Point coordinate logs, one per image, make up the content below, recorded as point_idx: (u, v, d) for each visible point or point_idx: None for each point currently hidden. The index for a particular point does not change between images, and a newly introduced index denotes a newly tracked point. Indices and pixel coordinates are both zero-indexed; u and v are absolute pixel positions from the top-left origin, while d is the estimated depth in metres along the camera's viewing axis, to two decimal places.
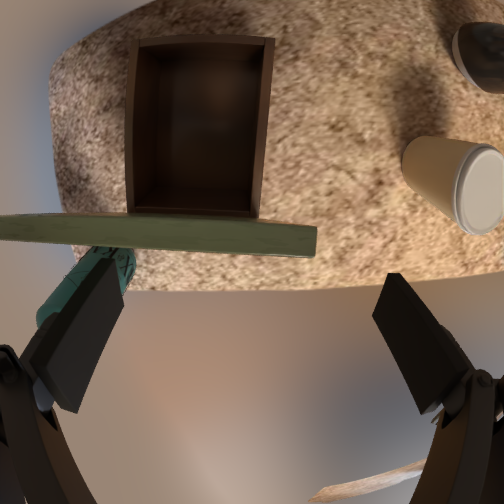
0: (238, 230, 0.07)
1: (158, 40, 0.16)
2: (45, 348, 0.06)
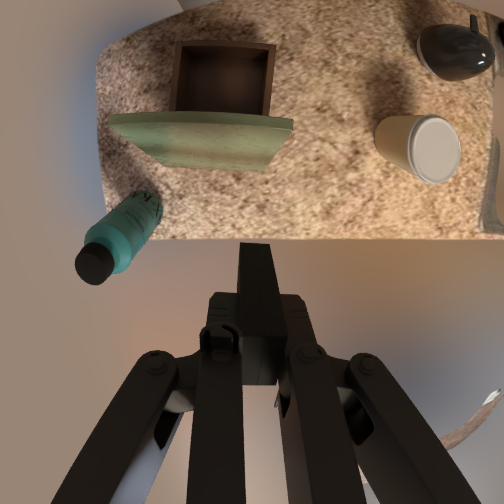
0: (261, 118, 0.15)
1: (196, 42, 0.24)
2: (251, 320, 0.09)
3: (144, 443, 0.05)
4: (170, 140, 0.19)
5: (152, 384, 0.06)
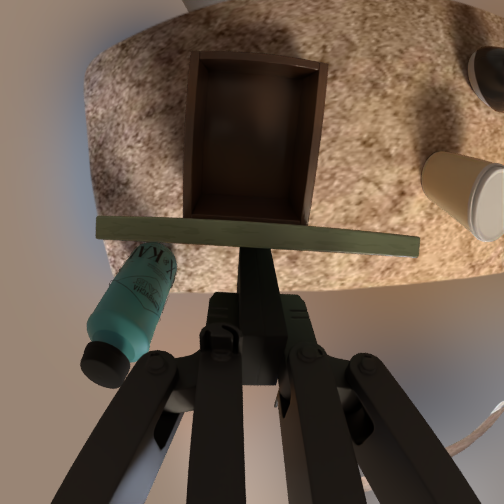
0: (378, 238, 0.09)
1: (219, 54, 0.18)
2: (251, 320, 0.09)
3: (144, 443, 0.05)
4: None
5: (152, 384, 0.06)
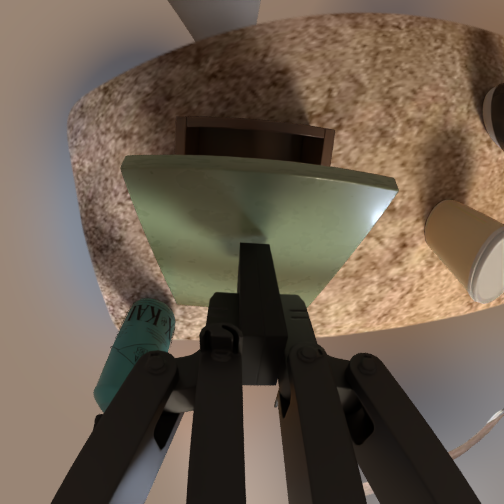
0: (358, 174, 0.11)
1: (209, 121, 0.18)
2: (251, 320, 0.09)
3: (144, 443, 0.05)
4: (206, 230, 0.14)
5: (152, 384, 0.06)
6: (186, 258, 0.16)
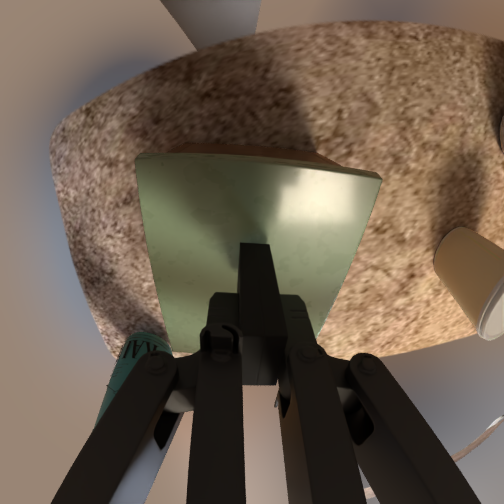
0: (344, 168, 0.12)
1: None
2: (251, 320, 0.09)
3: (144, 443, 0.05)
4: (207, 236, 0.14)
5: (152, 384, 0.06)
6: (185, 278, 0.16)
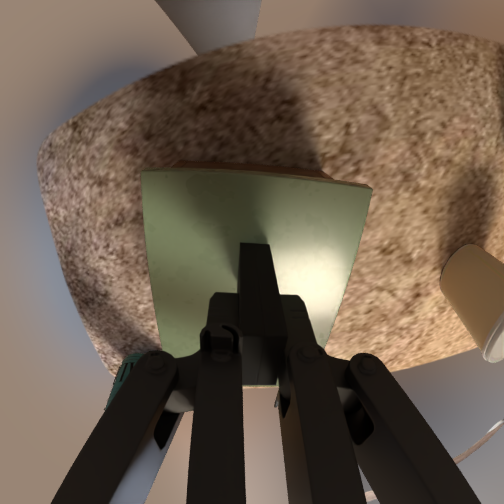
0: (335, 181, 0.13)
1: None
2: (251, 320, 0.09)
3: (144, 443, 0.05)
4: (207, 251, 0.14)
5: (152, 384, 0.06)
6: (184, 297, 0.16)
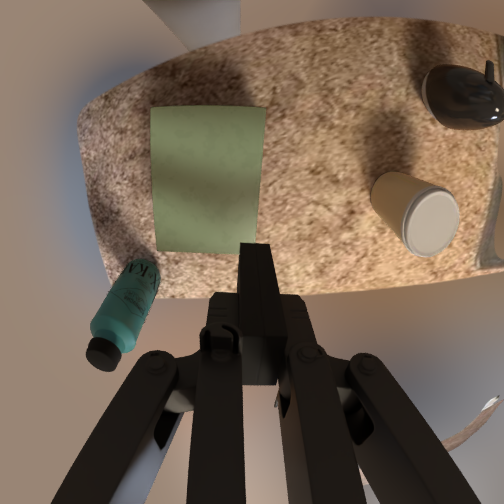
0: None
1: None
2: (251, 320, 0.09)
3: (144, 443, 0.05)
4: (181, 145, 0.26)
5: (152, 384, 0.06)
6: (168, 175, 0.27)
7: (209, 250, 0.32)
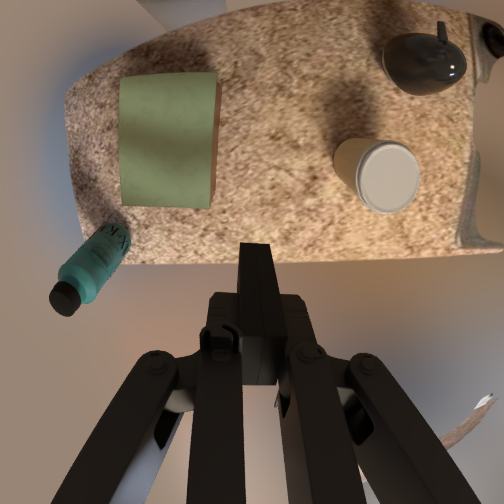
0: None
1: None
2: (251, 320, 0.09)
3: (144, 443, 0.05)
4: (144, 107, 0.27)
5: (152, 384, 0.06)
6: (133, 134, 0.28)
7: (167, 204, 0.33)
